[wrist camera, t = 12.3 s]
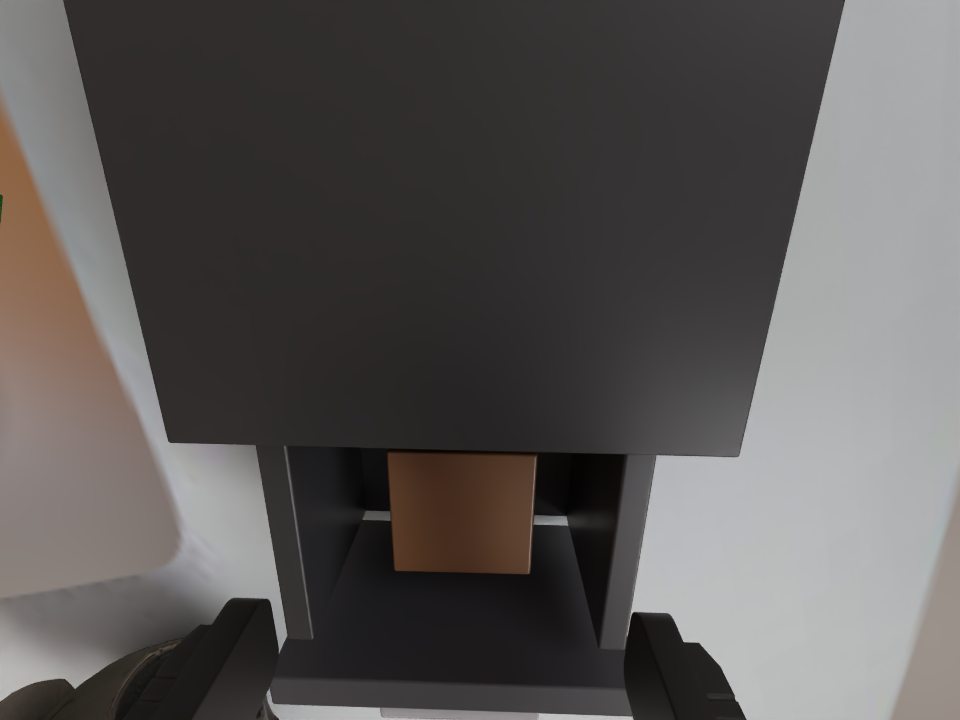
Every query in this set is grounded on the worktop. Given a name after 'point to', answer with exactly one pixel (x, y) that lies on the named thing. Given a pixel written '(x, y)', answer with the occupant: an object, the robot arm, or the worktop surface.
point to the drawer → (453, 594)
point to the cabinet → (455, 213)
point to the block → (462, 510)
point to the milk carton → (0, 205)
